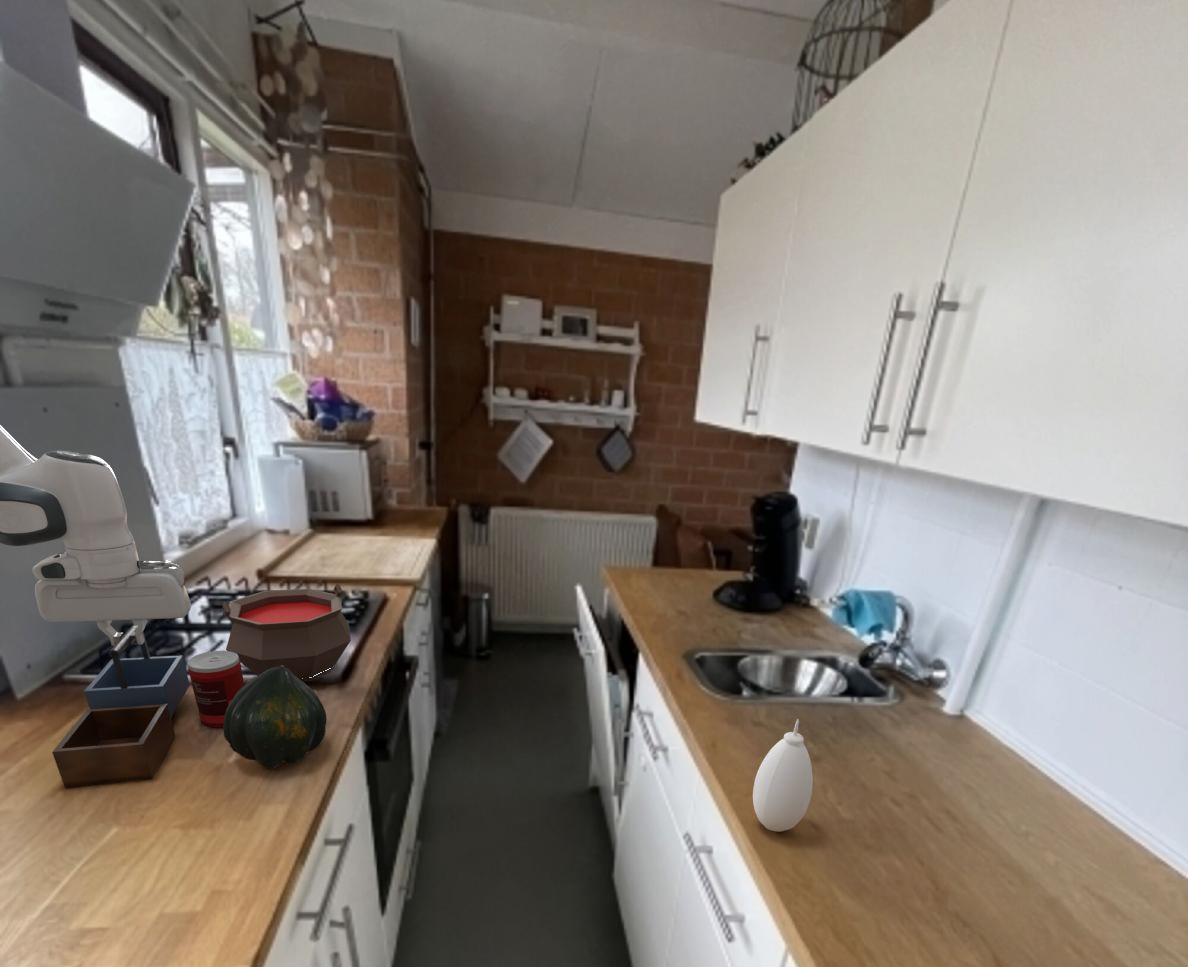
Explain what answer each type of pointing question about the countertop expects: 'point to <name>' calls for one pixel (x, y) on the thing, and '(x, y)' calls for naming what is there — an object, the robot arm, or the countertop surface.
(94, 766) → the bottom basket
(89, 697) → the top basket
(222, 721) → the canned food
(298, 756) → the squash
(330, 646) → the brown soup pot
